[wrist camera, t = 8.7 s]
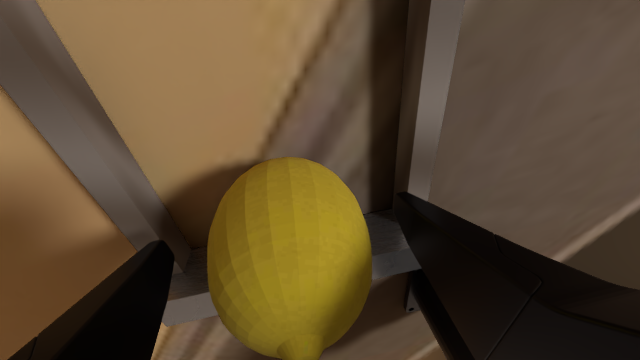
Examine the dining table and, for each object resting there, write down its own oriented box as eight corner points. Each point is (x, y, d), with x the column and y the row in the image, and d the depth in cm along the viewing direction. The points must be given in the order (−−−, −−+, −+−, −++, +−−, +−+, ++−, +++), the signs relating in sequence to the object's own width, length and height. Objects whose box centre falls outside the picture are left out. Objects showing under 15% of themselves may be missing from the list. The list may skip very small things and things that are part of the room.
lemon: (226, 218, 13) (176, 427, 6) (231, 118, 10) (149, 298, 3) (324, 223, 14) (372, 397, 7) (351, 138, 11) (465, 290, 5)
